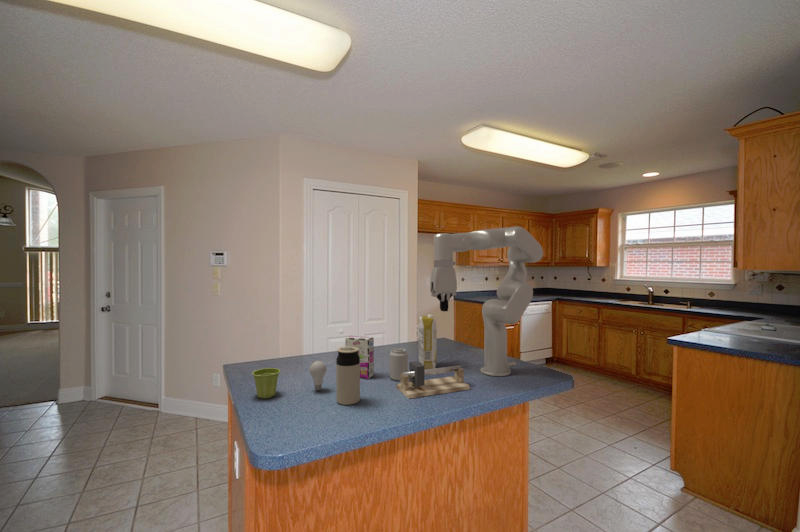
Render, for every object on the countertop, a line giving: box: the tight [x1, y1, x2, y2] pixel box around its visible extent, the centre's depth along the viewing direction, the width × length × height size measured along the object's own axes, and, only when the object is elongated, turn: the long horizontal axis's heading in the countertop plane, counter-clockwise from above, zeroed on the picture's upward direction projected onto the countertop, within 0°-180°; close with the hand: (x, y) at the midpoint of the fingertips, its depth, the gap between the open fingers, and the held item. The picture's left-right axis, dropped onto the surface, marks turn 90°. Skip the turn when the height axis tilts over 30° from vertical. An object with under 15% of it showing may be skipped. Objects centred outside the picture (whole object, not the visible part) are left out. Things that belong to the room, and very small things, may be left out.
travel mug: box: [335, 346, 361, 406], centre depth 124 cm, size 8×8×18 cm
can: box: [389, 347, 409, 382], centre depth 149 cm, size 8×8×12 cm
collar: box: [408, 361, 426, 386], centre depth 134 cm, size 3×7×7 cm, turn 22°
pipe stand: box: [395, 368, 471, 400], centre depth 137 cm, size 25×12×6 cm, turn 112°
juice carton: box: [418, 314, 437, 370], centre depth 165 cm, size 9×8×24 cm
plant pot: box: [251, 367, 281, 399], centre depth 130 cm, size 9×9×9 cm
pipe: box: [402, 364, 463, 377], centre depth 137 cm, size 24×2×2 cm, turn 112°
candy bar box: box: [345, 335, 375, 380], centre depth 152 cm, size 11×5×16 cm, turn 68°
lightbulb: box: [309, 360, 327, 392], centre depth 134 cm, size 6×6×11 cm
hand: (444, 310), depth 143 cm, fingers closed
